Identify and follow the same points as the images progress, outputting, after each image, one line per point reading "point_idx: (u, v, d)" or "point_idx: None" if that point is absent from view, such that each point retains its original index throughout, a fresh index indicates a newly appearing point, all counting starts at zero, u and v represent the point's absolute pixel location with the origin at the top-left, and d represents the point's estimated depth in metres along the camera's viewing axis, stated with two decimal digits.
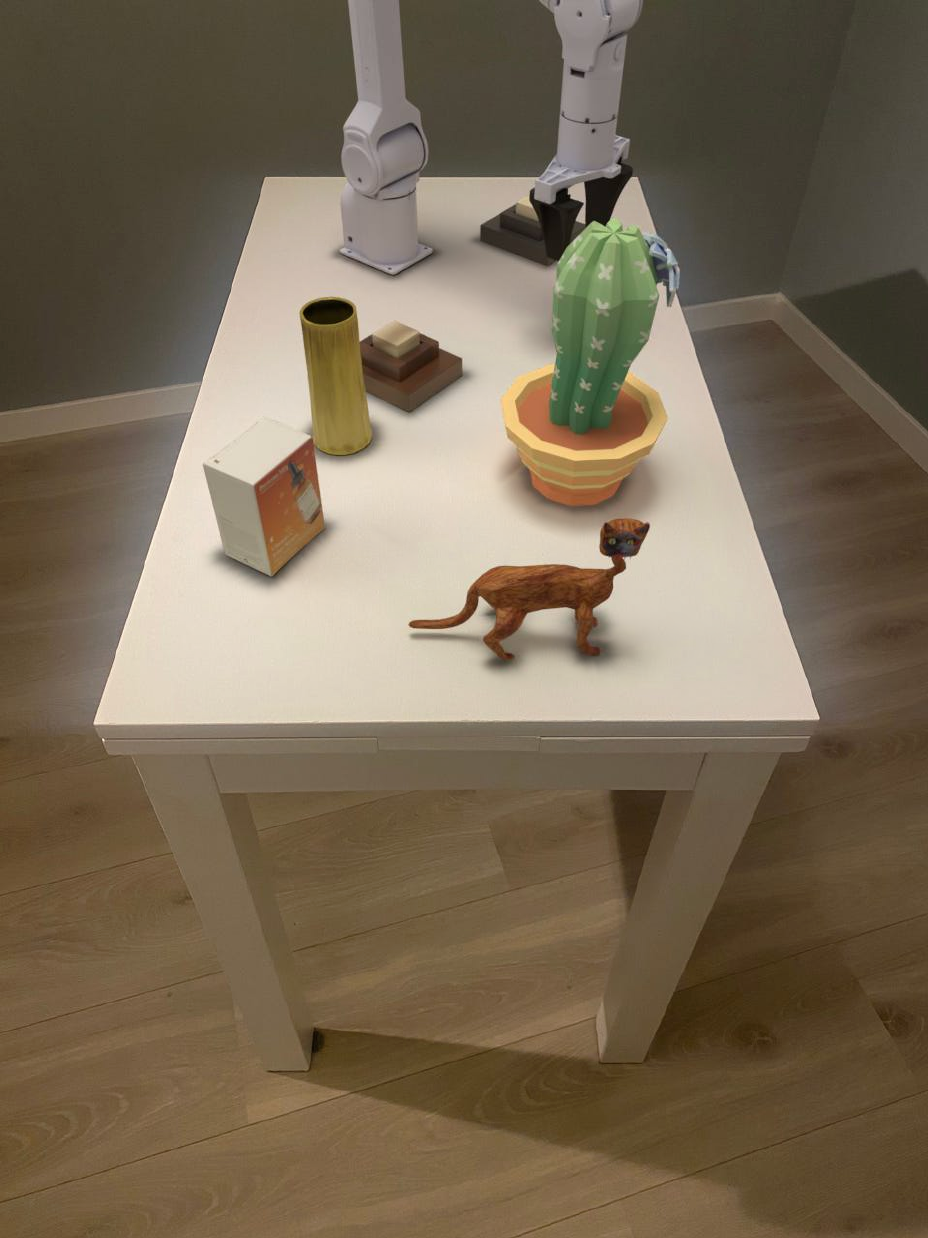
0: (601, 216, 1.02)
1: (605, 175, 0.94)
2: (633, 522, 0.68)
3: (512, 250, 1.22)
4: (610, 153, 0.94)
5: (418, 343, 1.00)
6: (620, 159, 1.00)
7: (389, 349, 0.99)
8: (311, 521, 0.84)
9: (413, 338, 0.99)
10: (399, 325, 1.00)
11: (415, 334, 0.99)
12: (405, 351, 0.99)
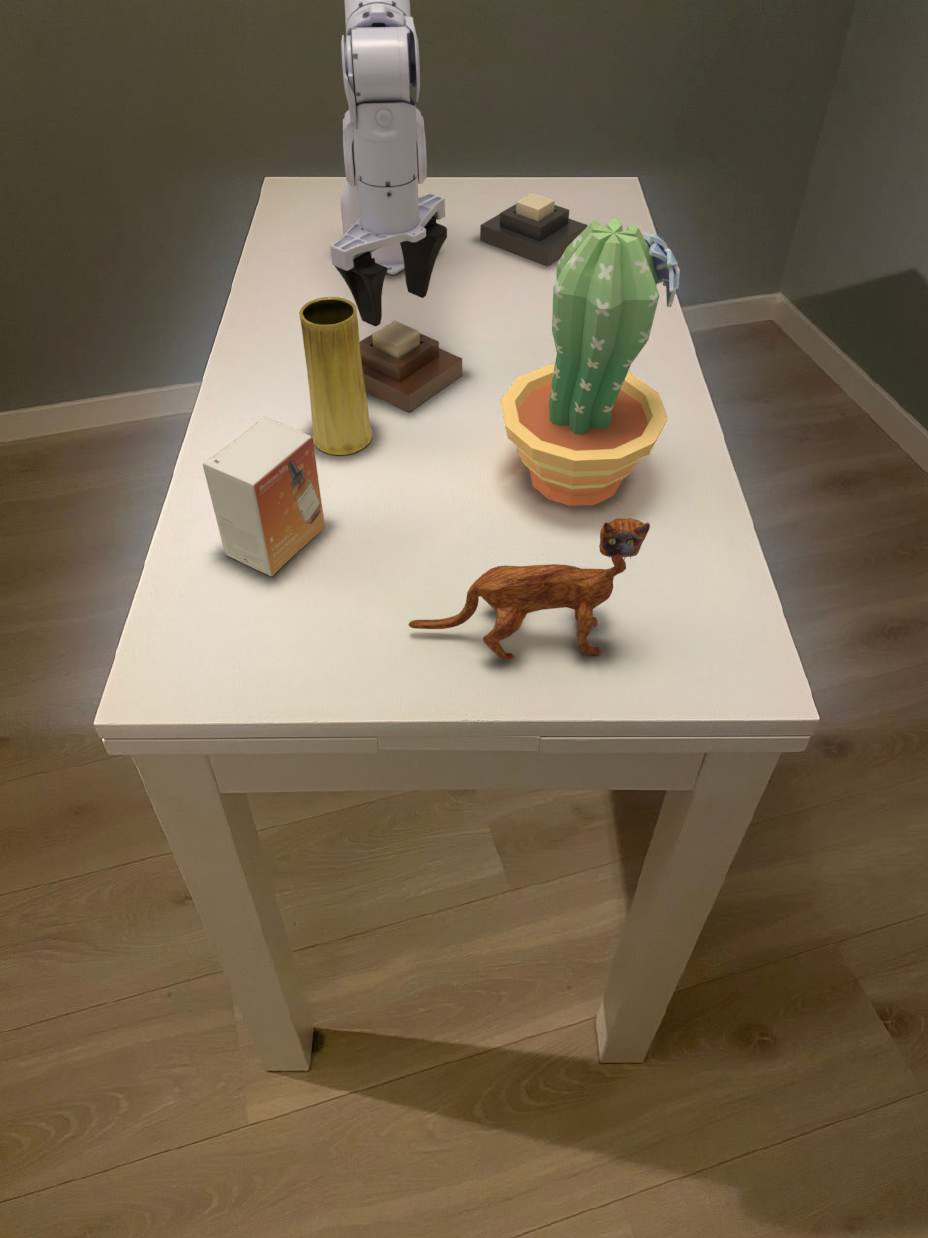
0: (420, 277, 0.97)
1: (408, 239, 0.89)
2: (633, 522, 0.68)
3: (512, 250, 1.22)
4: (413, 216, 0.89)
5: (418, 343, 1.00)
6: (434, 219, 0.94)
7: (389, 349, 0.99)
8: (311, 521, 0.84)
9: (413, 338, 0.99)
10: (399, 325, 1.00)
11: (415, 334, 0.99)
12: (405, 351, 0.99)
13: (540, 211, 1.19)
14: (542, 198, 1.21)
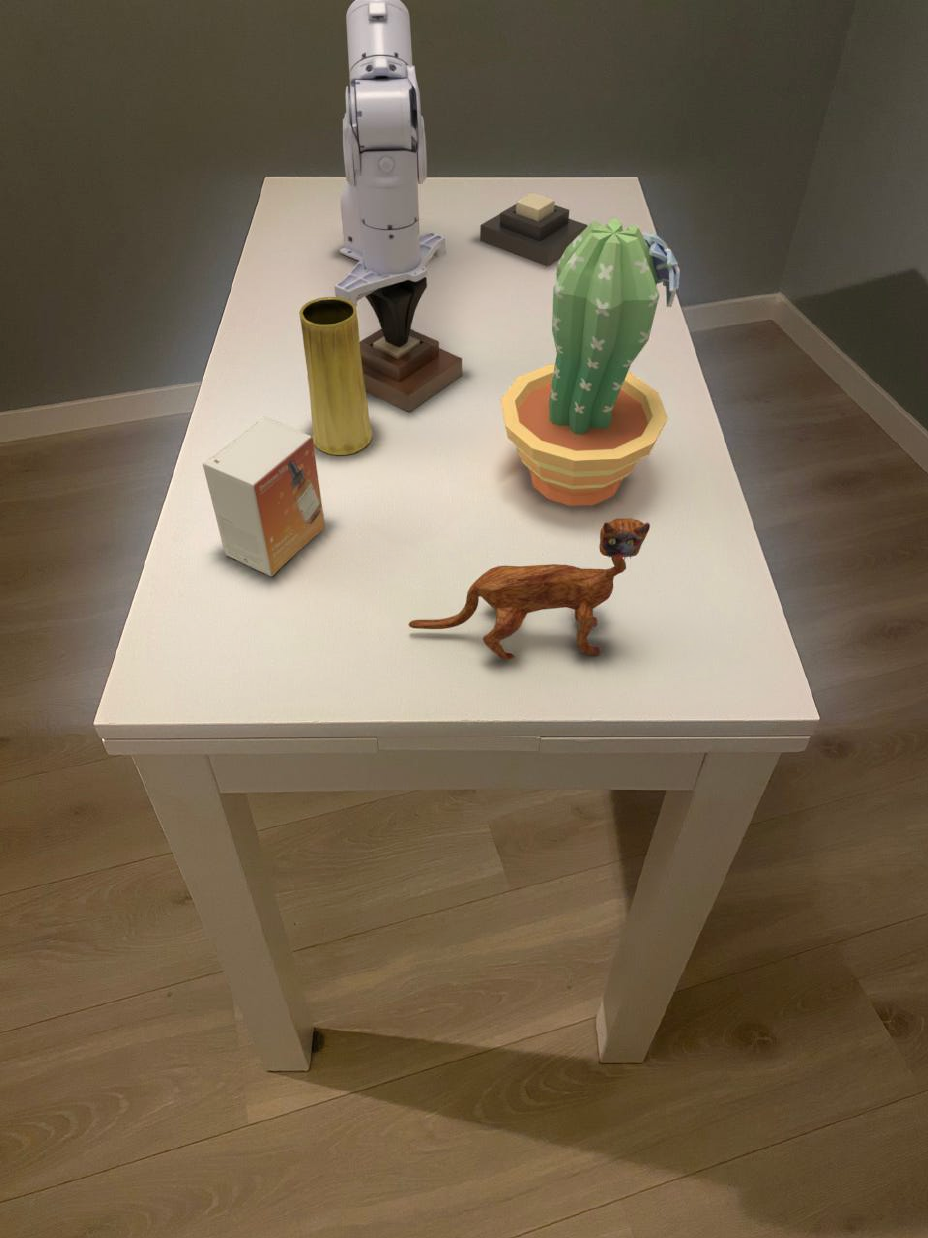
0: None
1: (410, 278, 0.92)
2: (633, 522, 0.68)
3: (512, 250, 1.22)
4: (414, 256, 0.91)
5: None
6: None
7: None
8: (311, 521, 0.84)
9: (413, 347, 1.00)
10: None
11: (416, 343, 1.00)
12: None
13: (540, 211, 1.19)
14: (542, 198, 1.21)
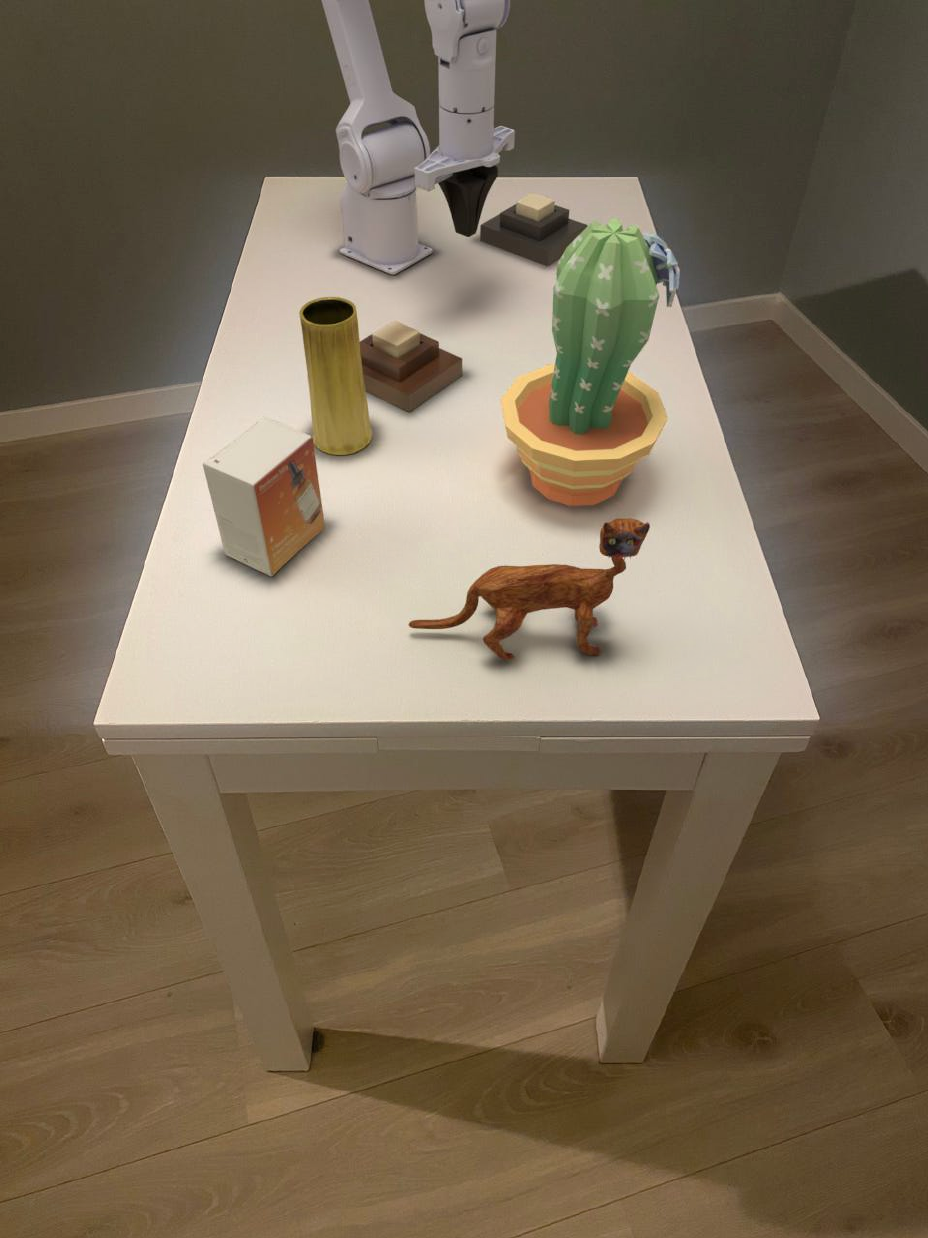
0: None
1: (484, 164, 0.98)
2: (633, 522, 0.68)
3: (512, 250, 1.22)
4: (488, 143, 0.97)
5: (418, 343, 1.00)
6: None
7: (389, 349, 0.99)
8: (311, 521, 0.84)
9: (413, 338, 0.99)
10: (399, 325, 1.00)
11: (415, 334, 0.99)
12: (405, 351, 0.99)
13: (540, 211, 1.19)
14: (542, 198, 1.21)
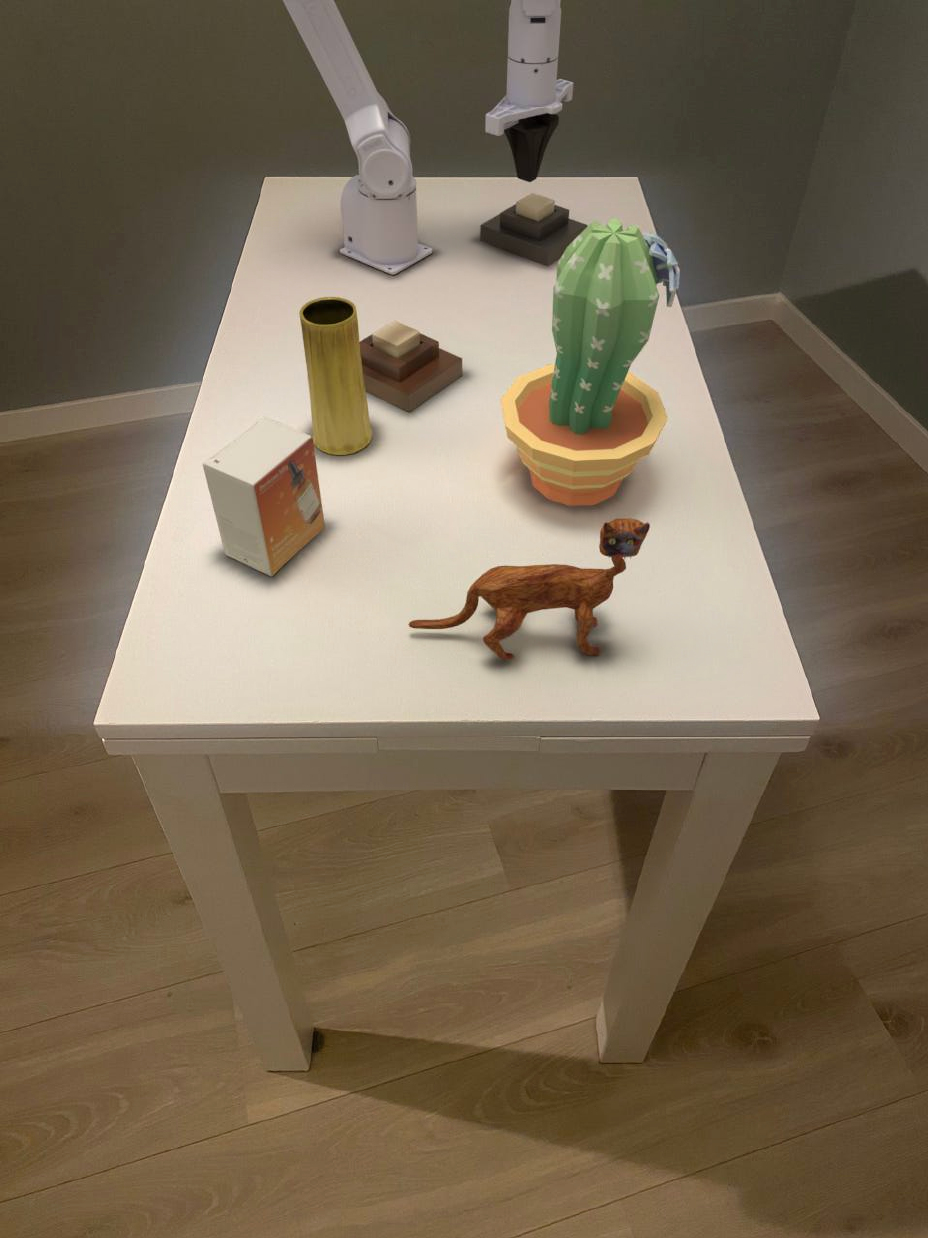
0: None
1: (548, 111, 1.07)
2: (633, 522, 0.68)
3: (512, 250, 1.22)
4: (552, 92, 1.07)
5: (418, 343, 1.00)
6: None
7: (389, 349, 0.99)
8: (311, 521, 0.84)
9: (413, 338, 0.99)
10: (399, 325, 1.00)
11: (415, 334, 0.99)
12: (405, 351, 0.99)
13: (540, 211, 1.19)
14: (542, 198, 1.21)
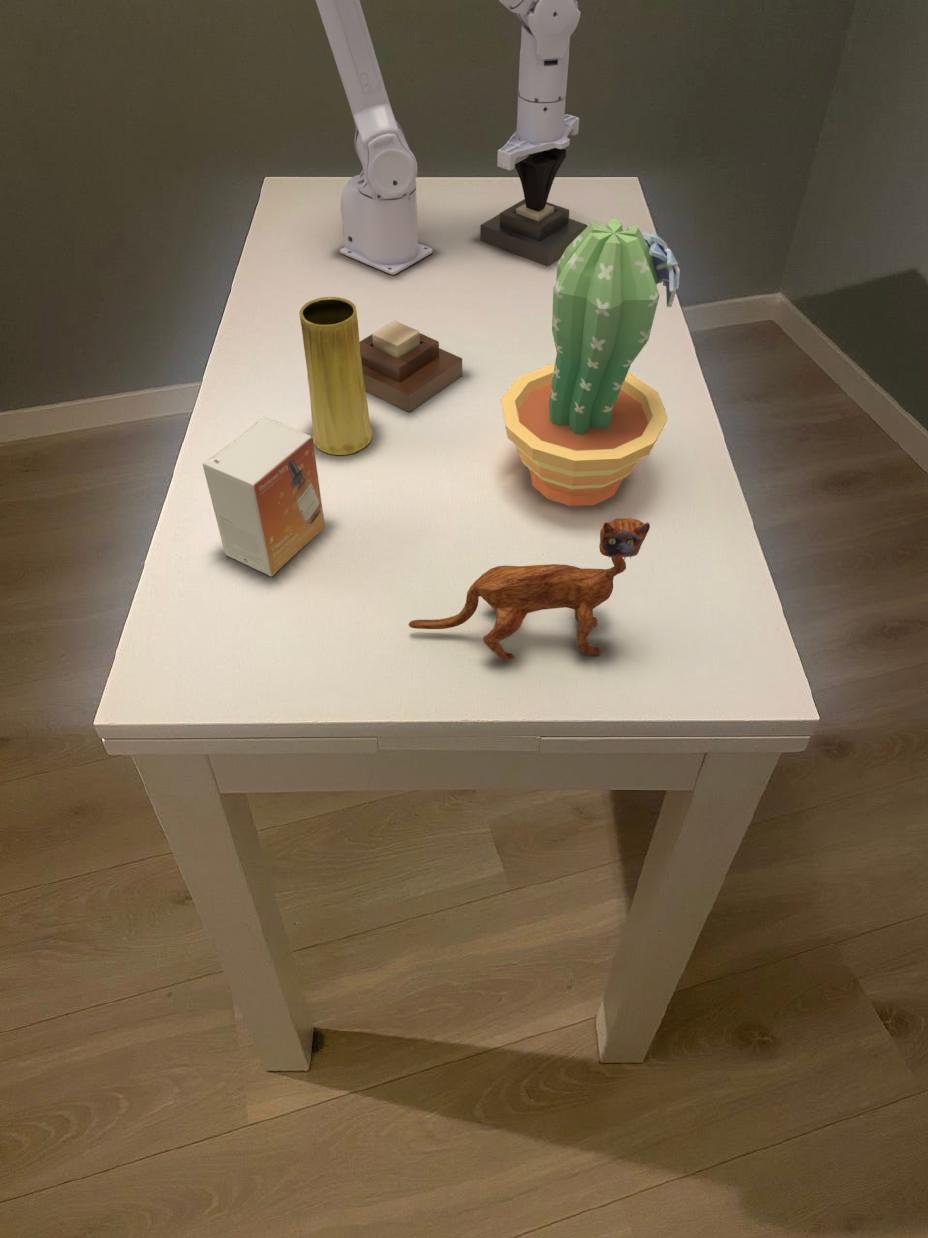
0: None
1: (556, 146, 1.13)
2: (633, 522, 0.68)
3: (512, 250, 1.22)
4: (560, 128, 1.13)
5: (418, 343, 1.00)
6: None
7: (389, 349, 0.99)
8: (311, 521, 0.84)
9: (413, 338, 0.99)
10: (399, 325, 1.00)
11: (415, 334, 0.99)
12: (405, 351, 0.99)
13: (540, 218, 1.20)
14: None
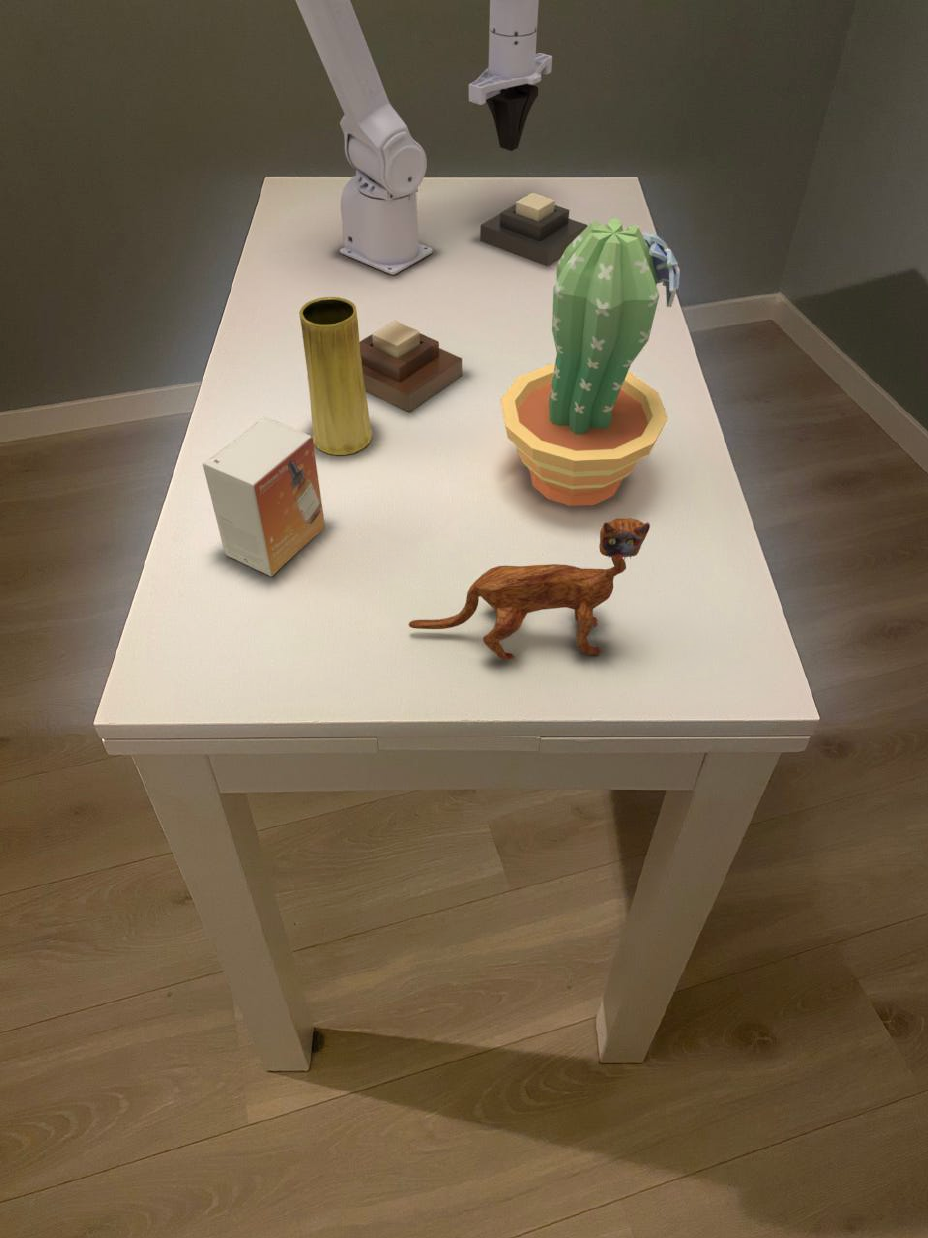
0: None
1: (527, 82, 1.13)
2: (633, 522, 0.68)
3: (512, 250, 1.22)
4: (532, 63, 1.13)
5: (418, 343, 1.00)
6: None
7: (389, 349, 0.99)
8: (311, 521, 0.84)
9: (413, 338, 0.99)
10: (399, 325, 1.00)
11: (415, 334, 0.99)
12: (405, 351, 0.99)
13: (540, 211, 1.19)
14: (542, 198, 1.21)
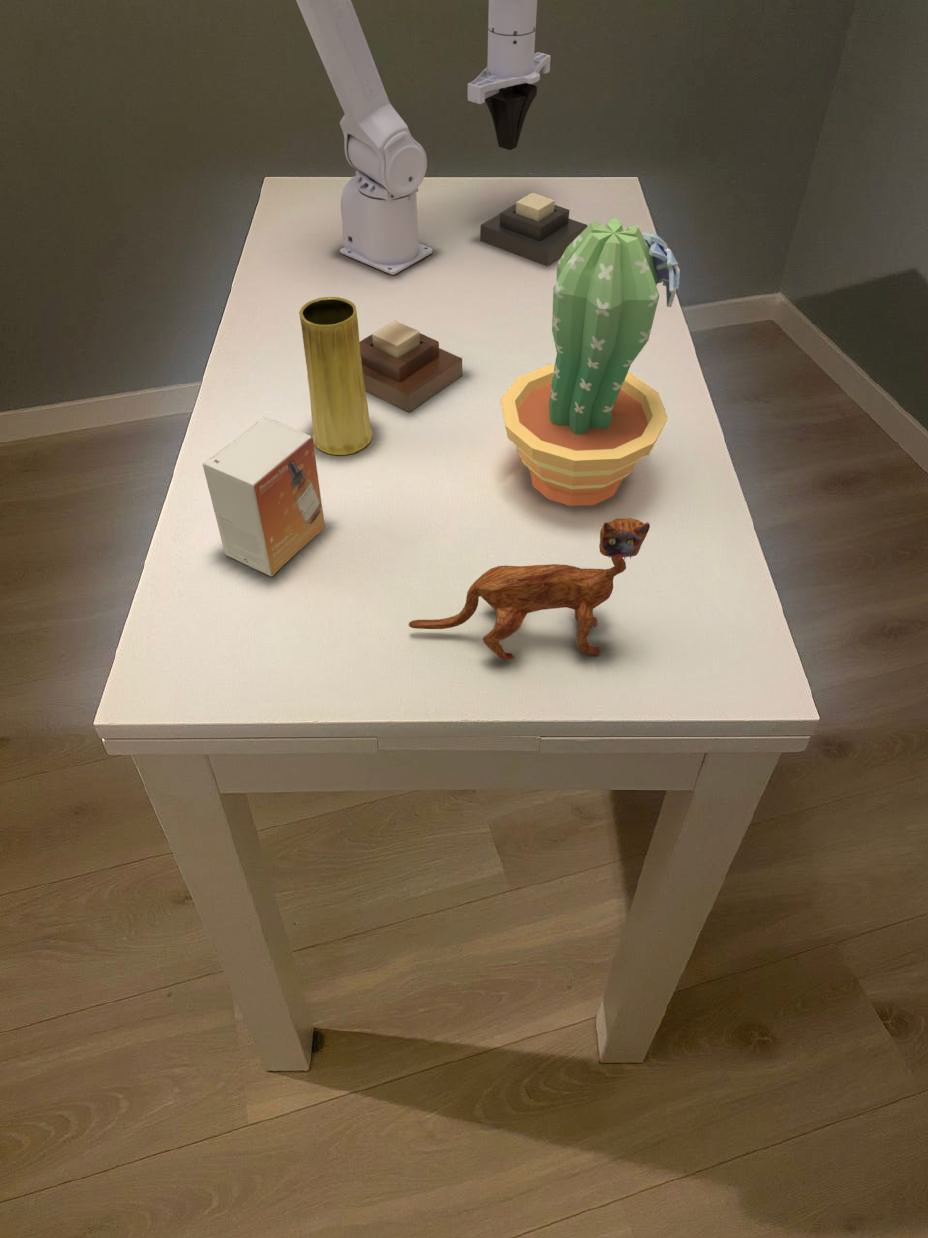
0: None
1: (526, 81, 1.14)
2: (633, 522, 0.68)
3: (512, 250, 1.22)
4: (530, 63, 1.13)
5: (418, 343, 1.00)
6: None
7: (389, 349, 0.99)
8: (311, 521, 0.84)
9: (413, 338, 0.99)
10: (399, 325, 1.00)
11: (415, 334, 0.99)
12: (405, 351, 0.99)
13: (540, 211, 1.19)
14: (542, 198, 1.21)
